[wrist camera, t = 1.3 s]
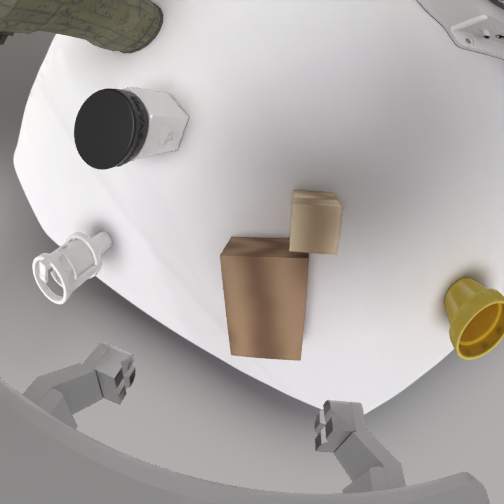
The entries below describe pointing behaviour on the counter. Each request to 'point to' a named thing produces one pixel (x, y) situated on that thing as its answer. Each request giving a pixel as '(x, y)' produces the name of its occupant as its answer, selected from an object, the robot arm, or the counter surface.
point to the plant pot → (474, 318)
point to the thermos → (85, 21)
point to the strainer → (71, 263)
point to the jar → (127, 126)
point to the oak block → (315, 222)
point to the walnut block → (264, 297)
